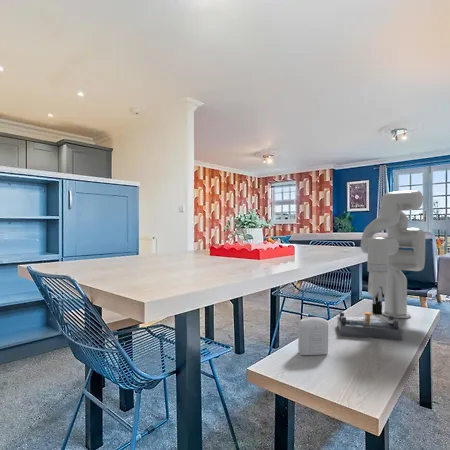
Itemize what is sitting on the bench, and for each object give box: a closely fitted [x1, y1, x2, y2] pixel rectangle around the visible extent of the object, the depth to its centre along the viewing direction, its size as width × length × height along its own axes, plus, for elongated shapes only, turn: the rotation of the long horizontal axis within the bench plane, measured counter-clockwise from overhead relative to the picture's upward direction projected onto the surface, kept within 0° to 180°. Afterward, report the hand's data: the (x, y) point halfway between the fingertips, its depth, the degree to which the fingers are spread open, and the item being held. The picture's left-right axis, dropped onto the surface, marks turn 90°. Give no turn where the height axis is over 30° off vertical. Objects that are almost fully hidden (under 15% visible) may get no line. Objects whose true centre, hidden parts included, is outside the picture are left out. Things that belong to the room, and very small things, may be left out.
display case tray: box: [336, 311, 403, 341], centre depth 127 cm, size 12×22×8 cm, turn 76°
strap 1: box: [341, 315, 366, 322], centre depth 128 cm, size 9×5×1 cm, turn 76°
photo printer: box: [297, 316, 329, 356], centre depth 107 cm, size 10×4×12 cm, turn 98°
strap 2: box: [370, 310, 395, 324], centre depth 125 cm, size 9×5×1 cm, turn 76°
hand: (377, 314), depth 125 cm, fingers closed
